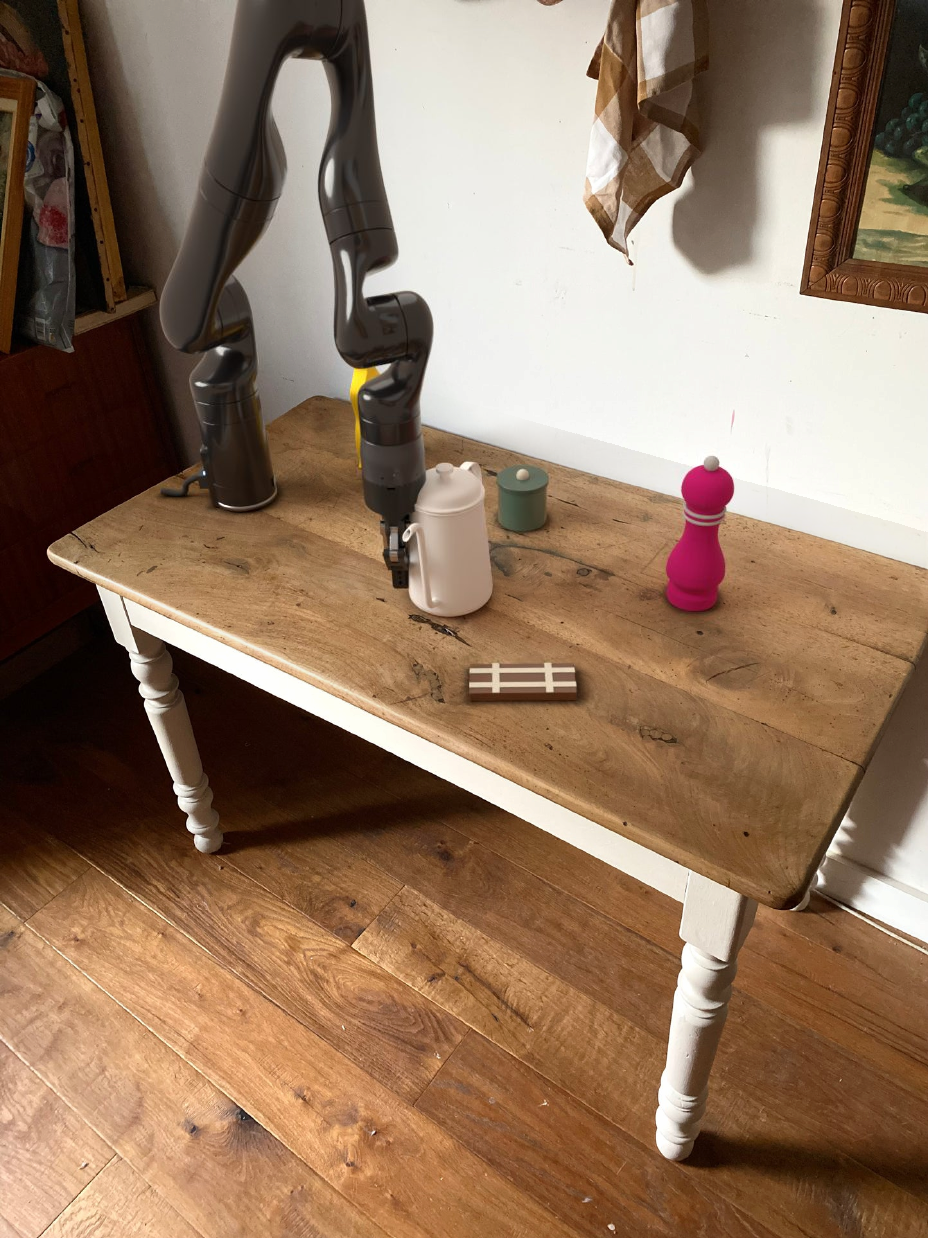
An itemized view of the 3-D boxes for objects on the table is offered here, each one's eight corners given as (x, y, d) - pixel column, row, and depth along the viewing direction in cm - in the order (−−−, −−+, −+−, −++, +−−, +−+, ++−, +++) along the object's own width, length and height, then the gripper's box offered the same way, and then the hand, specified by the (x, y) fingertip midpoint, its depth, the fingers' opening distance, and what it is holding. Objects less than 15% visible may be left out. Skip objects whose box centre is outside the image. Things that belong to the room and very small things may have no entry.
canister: (496, 532, 130) (496, 483, 125) (496, 505, 136) (496, 457, 131) (549, 532, 130) (550, 482, 125) (546, 505, 136) (547, 456, 131)
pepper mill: (723, 585, 118) (748, 446, 106) (716, 618, 113) (741, 475, 101) (667, 576, 120) (685, 438, 108) (658, 608, 115) (675, 467, 103)
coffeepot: (372, 648, 111) (356, 515, 99) (443, 539, 129) (436, 416, 117) (457, 665, 108) (451, 530, 96) (517, 551, 126) (517, 426, 114)
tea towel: (469, 701, 103) (469, 692, 102) (470, 671, 107) (469, 663, 106) (576, 700, 102) (577, 691, 101) (573, 670, 106) (573, 662, 105)
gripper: (367, 440, 112) (377, 556, 123) (354, 496, 102) (367, 617, 113) (428, 440, 112) (433, 556, 123) (421, 496, 102) (427, 617, 113)
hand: (401, 585), depth 118 cm, fingers closed
